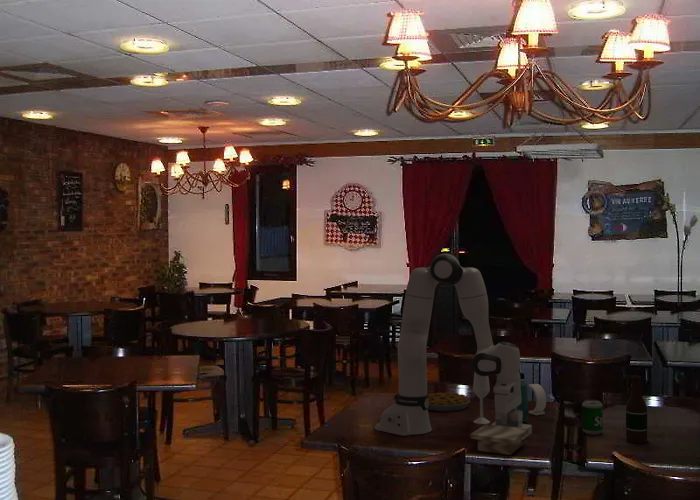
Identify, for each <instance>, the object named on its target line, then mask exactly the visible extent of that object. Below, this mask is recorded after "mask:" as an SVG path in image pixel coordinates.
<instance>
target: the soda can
mask: <svg viewBox="0 0 700 500" xmlns="http://www.w3.org/2000/svg"><path fill="white" fill-rule="evenodd" d="M603 408H604V406H603V403H602V402H601V401H600V400H598V399H597V400H596V399H585V400H584V401H583V402H582V404H581V411H582V412H581V427H582V428H581V429H582V431H583V432H584V434H586V435H592V436H597V435H601V433H602V432H603V431H604V412H603V411H604V409H603Z"/></svg>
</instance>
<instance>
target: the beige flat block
mask: <svg viewBox="0 0 700 500" xmlns="http://www.w3.org/2000/svg"><path fill="white" fill-rule="evenodd" d="M491 425H495V421H494V422H493V423H492V424H491ZM521 428H524V429H528V434H527V435H525V436H524V437H523V438H521V442H522V441H524V440H525V439H526V438H527V437H529V436H530V435H531V434H532V433H533V425H532V424H526V423H523V427H521Z"/></svg>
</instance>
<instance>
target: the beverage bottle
mask: <svg viewBox="0 0 700 500" xmlns="http://www.w3.org/2000/svg"><path fill="white" fill-rule="evenodd" d="M519 373H520V381H521V404H520V405H519V406H517V410H520V411H523V421H527V420H529V406H528V405H529V401H528V400H529V399H528V397H529V396H528V383H527V382H525V381H524V379H526V378H525V373H523V372H519Z"/></svg>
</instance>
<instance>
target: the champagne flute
mask: <svg viewBox="0 0 700 500" xmlns="http://www.w3.org/2000/svg"><path fill="white" fill-rule="evenodd" d="M473 372H474V371H473ZM472 391H473V393H474V394H475V395H476V396H477V398H479V417H478V418H475V420H473V423H474V424H477V425H485V424H490V422H491V421H490V420H488V419H486V418H485V417H484V399H485V397H487V395H489V393H490V378H489V376H480V375H478V374H476V373H475V372H474V374H473V385H472Z"/></svg>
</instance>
